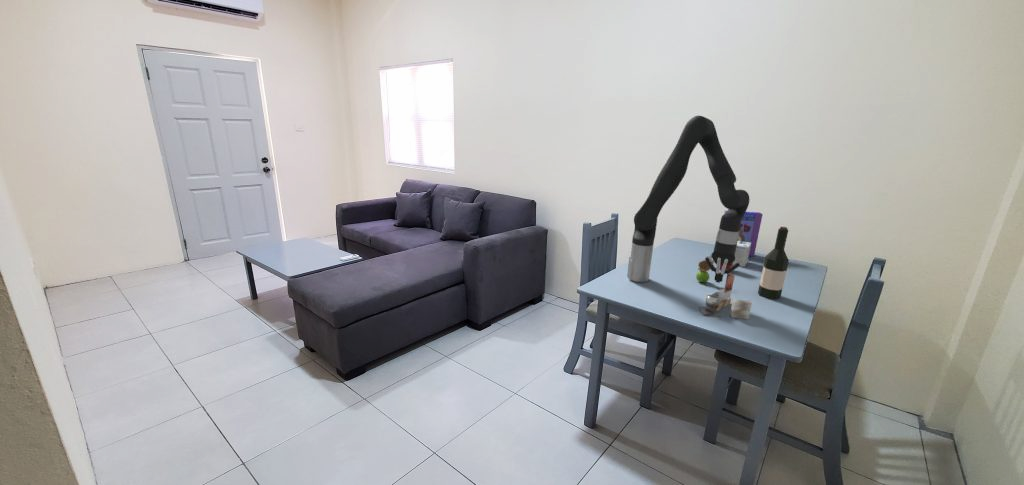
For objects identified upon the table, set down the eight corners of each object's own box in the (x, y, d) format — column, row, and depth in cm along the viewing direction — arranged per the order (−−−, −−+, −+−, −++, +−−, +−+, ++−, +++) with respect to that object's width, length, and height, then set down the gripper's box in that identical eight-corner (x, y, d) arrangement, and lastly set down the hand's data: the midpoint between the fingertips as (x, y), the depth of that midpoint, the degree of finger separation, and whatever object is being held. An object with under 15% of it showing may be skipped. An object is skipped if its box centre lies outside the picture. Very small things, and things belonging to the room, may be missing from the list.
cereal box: (720, 254, 228) (727, 212, 221) (717, 251, 232) (724, 210, 226) (753, 256, 225) (762, 214, 218) (750, 253, 230) (759, 212, 223)
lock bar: (712, 307, 154) (716, 284, 151) (703, 303, 157) (707, 281, 154) (733, 296, 164) (737, 275, 161) (724, 293, 166) (727, 273, 164)
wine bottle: (753, 291, 178) (767, 224, 169) (771, 291, 179) (786, 224, 170) (766, 299, 170) (781, 230, 161) (785, 299, 171) (801, 230, 162)
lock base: (704, 316, 154) (707, 300, 152) (691, 299, 169) (693, 284, 167) (748, 318, 153) (751, 303, 151) (731, 301, 168) (733, 287, 166)
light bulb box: (733, 259, 220) (737, 240, 217) (747, 262, 216) (751, 242, 213) (730, 264, 212) (733, 244, 209) (744, 267, 208) (748, 247, 205)
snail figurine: (712, 285, 184) (716, 259, 181) (696, 283, 185) (700, 258, 182) (708, 280, 189) (713, 256, 186) (694, 279, 191) (698, 254, 187)
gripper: (707, 240, 159) (699, 281, 165) (745, 246, 154) (736, 288, 159) (708, 235, 166) (700, 275, 171) (745, 241, 160) (736, 282, 165)
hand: (717, 281), depth 165 cm, fingers closed
